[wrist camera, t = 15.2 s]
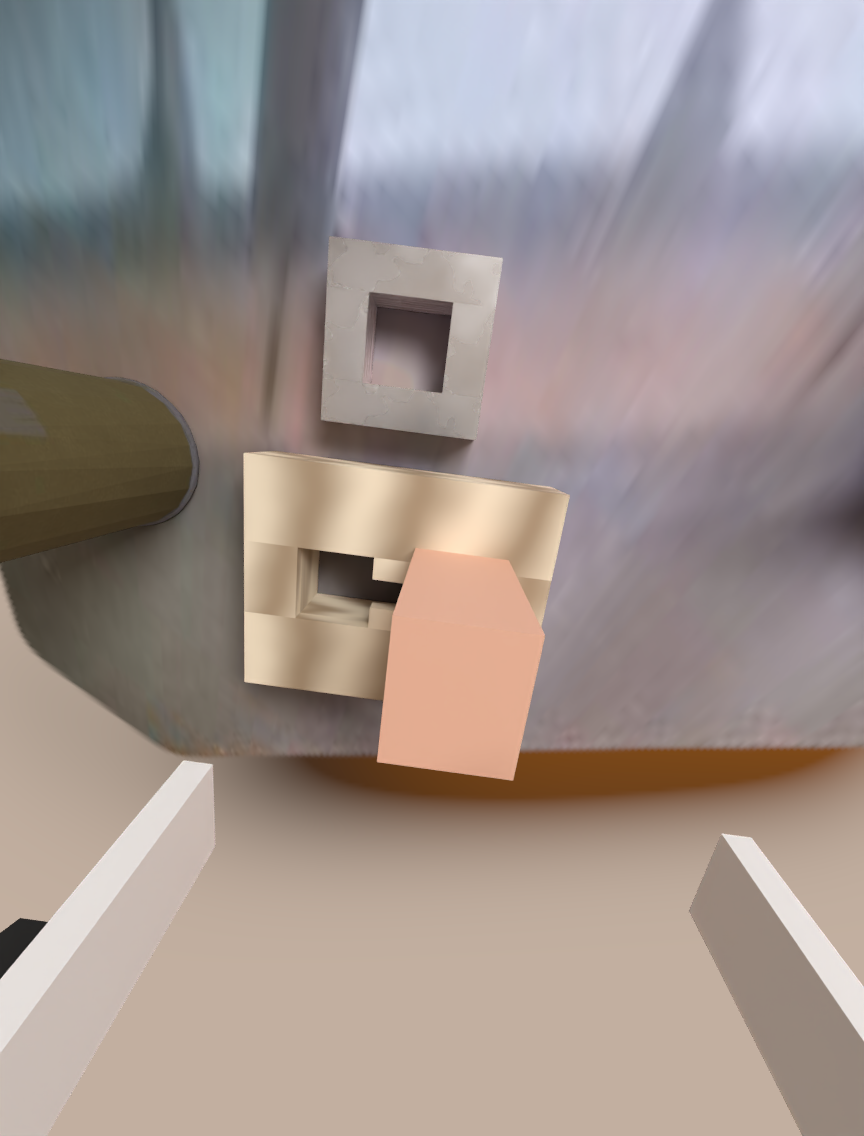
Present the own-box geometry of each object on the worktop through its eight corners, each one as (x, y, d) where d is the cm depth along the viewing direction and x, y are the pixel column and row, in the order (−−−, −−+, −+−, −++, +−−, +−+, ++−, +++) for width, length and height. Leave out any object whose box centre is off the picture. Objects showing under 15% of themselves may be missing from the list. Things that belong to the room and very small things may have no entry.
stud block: (407, 629, 32) (376, 761, 19) (418, 538, 30) (392, 615, 17) (487, 640, 32) (513, 780, 19) (503, 549, 30) (544, 635, 17)
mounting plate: (272, 649, 35) (244, 681, 31) (276, 451, 31) (243, 452, 26) (511, 681, 35) (521, 719, 30) (551, 487, 31) (569, 495, 26)
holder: (332, 421, 30) (320, 419, 27) (341, 257, 27) (329, 236, 24) (473, 440, 30) (475, 440, 27) (497, 276, 27) (502, 258, 24)
